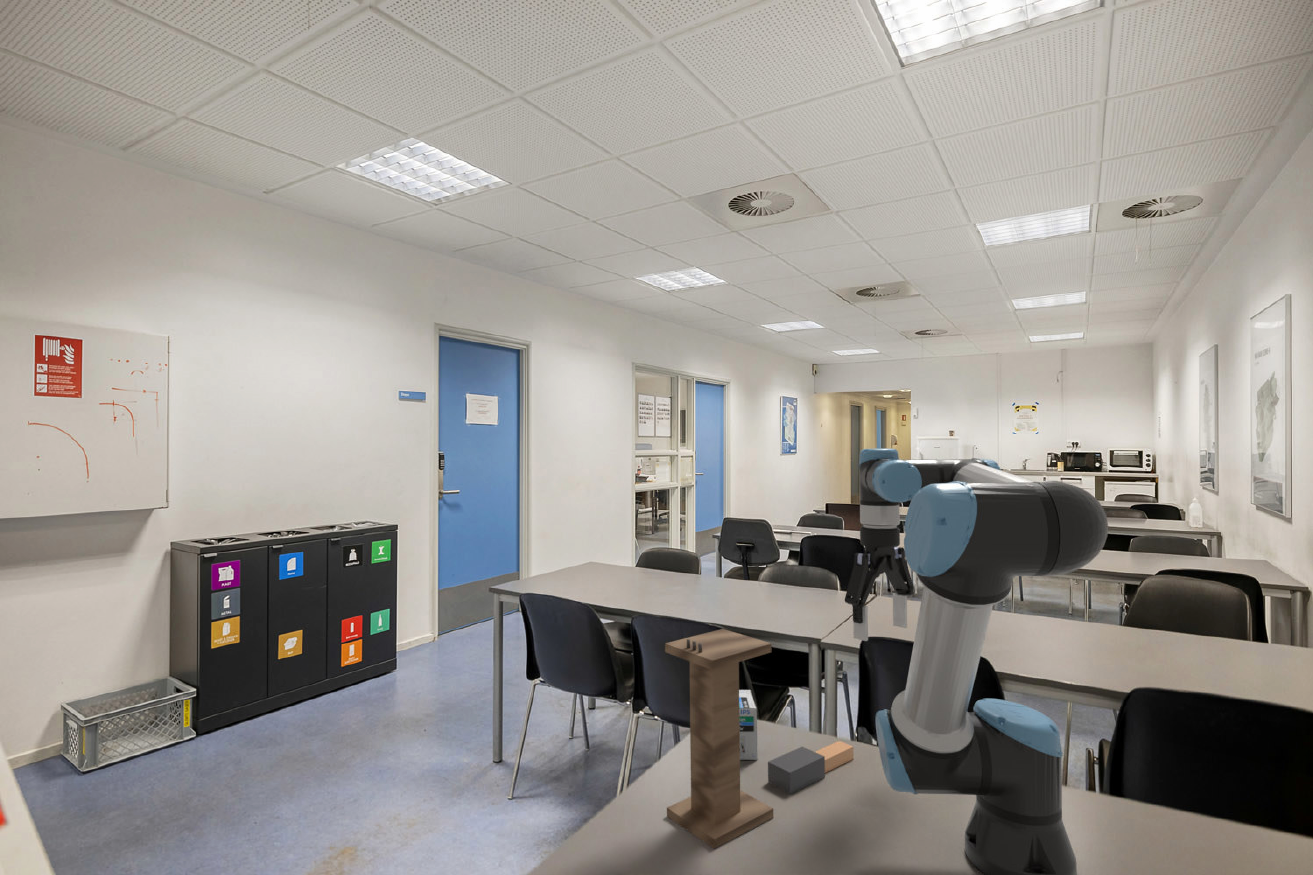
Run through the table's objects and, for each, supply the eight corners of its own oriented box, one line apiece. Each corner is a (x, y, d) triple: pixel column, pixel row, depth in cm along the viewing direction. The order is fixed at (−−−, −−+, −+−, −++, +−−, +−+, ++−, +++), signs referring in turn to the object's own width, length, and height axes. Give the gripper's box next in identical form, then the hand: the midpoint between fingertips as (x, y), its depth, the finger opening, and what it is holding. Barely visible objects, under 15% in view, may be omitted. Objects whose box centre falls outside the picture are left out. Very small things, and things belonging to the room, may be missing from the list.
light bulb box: (758, 760, 136) (757, 707, 136) (725, 760, 136) (724, 707, 136) (752, 737, 146) (751, 688, 146) (721, 737, 146) (720, 688, 147)
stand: (773, 817, 115) (771, 635, 115) (714, 848, 106) (712, 651, 107) (724, 789, 124) (722, 621, 125) (666, 816, 116) (664, 635, 116)
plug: (857, 760, 135) (857, 740, 135) (790, 794, 123) (790, 772, 123) (835, 750, 140) (835, 731, 140) (768, 782, 127) (767, 761, 127)
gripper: (897, 519, 143) (898, 618, 143) (824, 529, 128) (826, 640, 128) (930, 522, 137) (931, 625, 137) (858, 533, 122) (860, 649, 122)
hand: (881, 632), depth 132 cm, fingers open, 13 cm apart
